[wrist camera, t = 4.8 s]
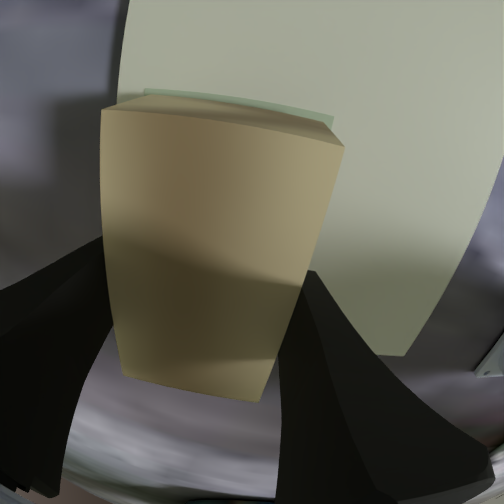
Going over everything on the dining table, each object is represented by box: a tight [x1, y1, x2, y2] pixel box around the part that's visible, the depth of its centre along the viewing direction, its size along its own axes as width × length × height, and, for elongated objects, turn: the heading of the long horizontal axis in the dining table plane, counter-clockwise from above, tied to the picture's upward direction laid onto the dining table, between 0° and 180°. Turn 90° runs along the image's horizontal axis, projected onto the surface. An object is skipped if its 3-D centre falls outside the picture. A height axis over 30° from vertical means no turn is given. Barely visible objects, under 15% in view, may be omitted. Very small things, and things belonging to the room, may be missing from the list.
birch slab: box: [100, 94, 345, 403], centre depth 9 cm, size 5×9×3 cm, turn 170°
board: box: [117, 0, 504, 356], centre depth 10 cm, size 14×18×1 cm
